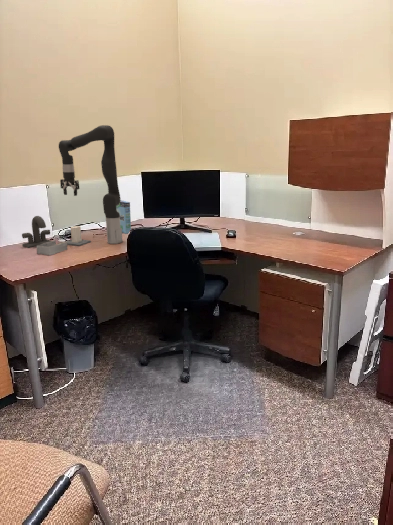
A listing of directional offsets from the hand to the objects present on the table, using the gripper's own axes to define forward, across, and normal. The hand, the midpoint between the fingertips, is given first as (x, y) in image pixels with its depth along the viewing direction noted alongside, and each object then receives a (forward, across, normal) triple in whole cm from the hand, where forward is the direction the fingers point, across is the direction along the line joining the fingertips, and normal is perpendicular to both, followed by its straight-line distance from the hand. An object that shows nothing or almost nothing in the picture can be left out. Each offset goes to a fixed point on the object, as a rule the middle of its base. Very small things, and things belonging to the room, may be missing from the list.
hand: (70, 195), depth 285 cm
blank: (+29, +11, -10) cm, 33 cm away
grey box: (+30, +11, -32) cm, 45 cm away
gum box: (+30, +19, +32) cm, 48 cm away
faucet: (+31, -7, -25) cm, 40 cm away
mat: (+30, +11, -10) cm, 34 cm away
